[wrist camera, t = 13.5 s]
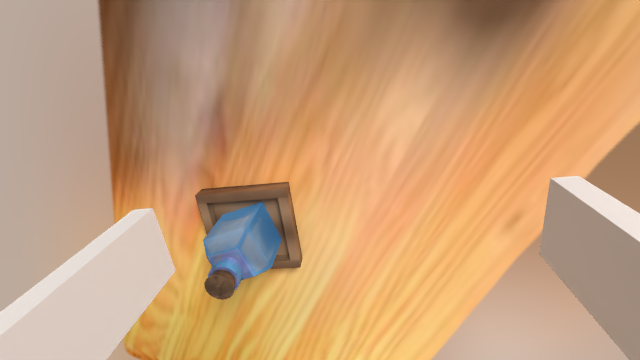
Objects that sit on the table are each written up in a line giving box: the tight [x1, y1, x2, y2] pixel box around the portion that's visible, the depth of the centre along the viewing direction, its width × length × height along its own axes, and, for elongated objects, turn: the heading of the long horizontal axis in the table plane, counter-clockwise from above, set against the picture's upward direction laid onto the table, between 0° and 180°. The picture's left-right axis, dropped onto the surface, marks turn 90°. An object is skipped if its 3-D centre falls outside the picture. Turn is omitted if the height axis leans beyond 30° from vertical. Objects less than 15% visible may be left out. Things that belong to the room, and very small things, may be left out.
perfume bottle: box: [203, 201, 282, 299], centre depth 40 cm, size 6×6×12 cm
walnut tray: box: [195, 182, 302, 269], centre depth 45 cm, size 12×12×2 cm
